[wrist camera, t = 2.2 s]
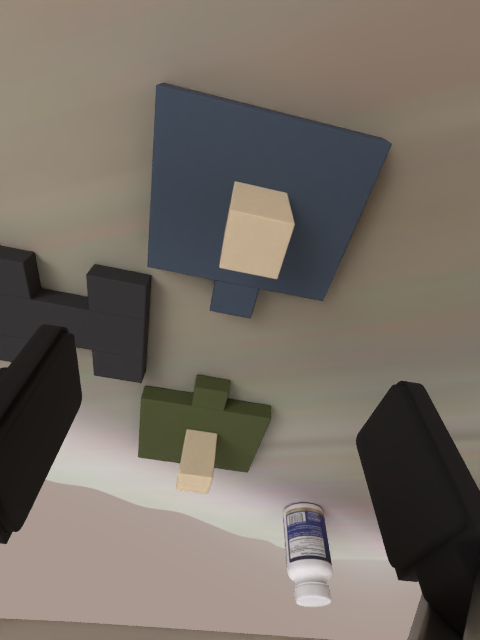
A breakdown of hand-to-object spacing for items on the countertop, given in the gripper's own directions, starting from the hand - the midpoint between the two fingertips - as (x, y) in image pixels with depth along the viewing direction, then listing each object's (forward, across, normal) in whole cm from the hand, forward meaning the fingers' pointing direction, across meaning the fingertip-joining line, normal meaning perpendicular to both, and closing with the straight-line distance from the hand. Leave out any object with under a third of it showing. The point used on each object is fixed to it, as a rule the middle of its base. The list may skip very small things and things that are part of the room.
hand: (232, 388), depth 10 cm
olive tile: (+14, -1, +21) cm, 26 cm away
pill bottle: (+14, -16, +38) cm, 44 cm away
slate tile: (+14, -1, 0) cm, 14 cm away
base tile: (+14, +11, +11) cm, 21 cm away
